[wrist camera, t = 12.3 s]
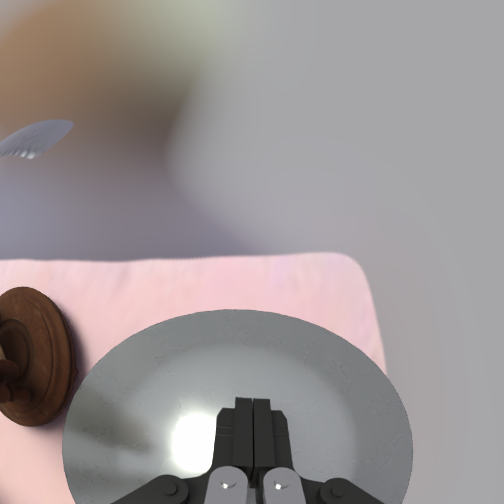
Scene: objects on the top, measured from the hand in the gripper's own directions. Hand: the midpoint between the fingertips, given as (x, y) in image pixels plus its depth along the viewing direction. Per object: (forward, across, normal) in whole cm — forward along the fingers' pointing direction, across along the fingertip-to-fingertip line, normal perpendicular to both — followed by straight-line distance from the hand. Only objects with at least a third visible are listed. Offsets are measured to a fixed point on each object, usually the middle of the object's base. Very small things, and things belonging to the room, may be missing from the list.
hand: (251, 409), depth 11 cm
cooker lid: (-2, 0, -5) cm, 5 cm away
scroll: (+8, -23, -9) cm, 26 cm away
